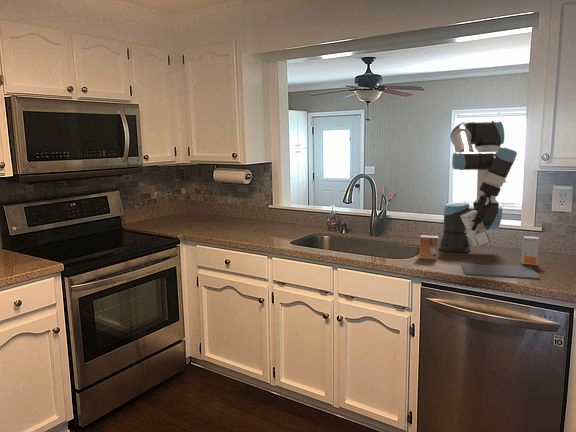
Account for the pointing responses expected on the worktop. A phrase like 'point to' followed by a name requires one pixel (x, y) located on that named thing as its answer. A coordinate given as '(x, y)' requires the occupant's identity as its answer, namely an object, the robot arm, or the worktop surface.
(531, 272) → the charcoal mat
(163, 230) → the worktop surface
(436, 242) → the small box
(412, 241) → the worktop surface
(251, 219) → the worktop surface
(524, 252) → the skincare box
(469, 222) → the syrup box
